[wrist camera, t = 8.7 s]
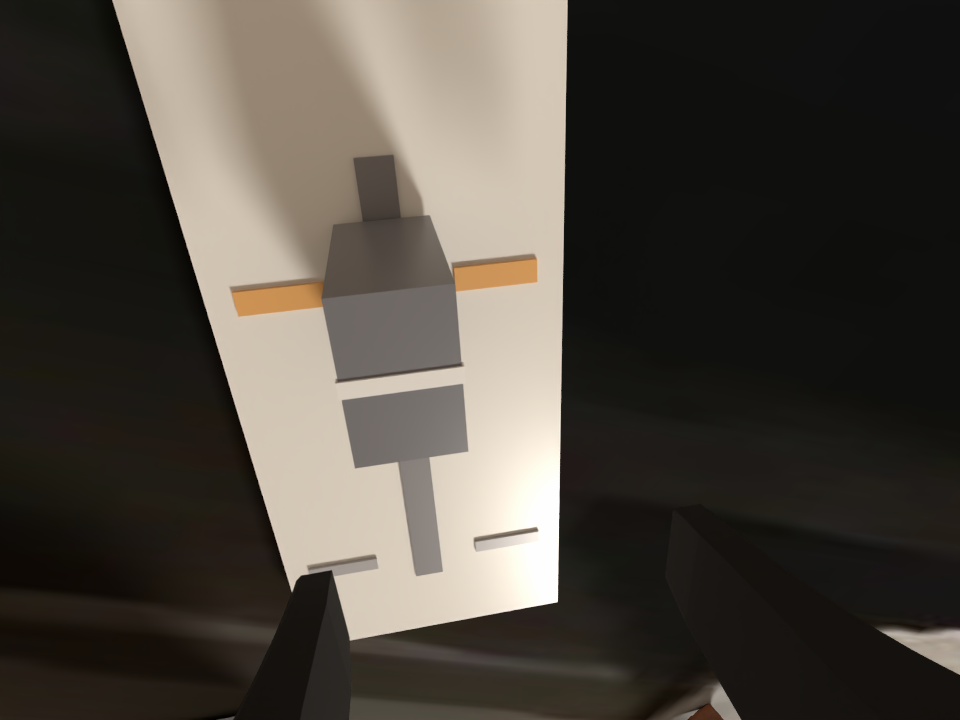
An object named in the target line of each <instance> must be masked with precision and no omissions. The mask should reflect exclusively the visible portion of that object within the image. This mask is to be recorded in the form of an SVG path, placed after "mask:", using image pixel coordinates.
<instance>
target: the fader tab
mask: <svg viewBox="0 0 960 720" xmlns="http://www.w3.org/2000/svg"><path fill="white" fill-rule="evenodd" d="M321 299H322V304H323V310H324V315H325V320H326V325H327V330H328V335H329V340H330V345H331V350H332V355H333V360H334V365H335V370H336V375H337V379H336V380H335V385H336V390H337V395H338V400H342V405H343V411H344V416H345V421H346V426H347V431H348V436H349V441H350V446H351V451H352V456H353V461H354V466H355V468H362V467H369V466H375V465H382V464H389V463H395V462H402V461H409V460H415V459H422V458H429V457H435V456H442V455H449V454H455V453H462V452H468V440H467V427H466V414H465V402H464V389H463V384H465V383H466V380H465V367H464V363H463V362H461V350H460V337H459V324H458V312H457V299H456V286H455V281H454V279H453V276H452V273H451V271H450V268H449V265H448V263H447V260H446V257H445V255H444V252H443V249H442V247H441V244H440V241H439V239H438V236H437V233H436V231H435V228H434V225H433V223H432V220H431V217H430V215H426V216H415V217H405V218H395V219H385V220H375V221H365V222H355V223H344V224H334V225H333V229H332V235H331V241H330V248H329V254H328V260H327V267H326V273H325V279H324V285H323V292H322V298H321Z"/></svg>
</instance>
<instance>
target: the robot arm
mask: <svg viewBox="0 0 960 720" xmlns="http://www.w3.org/2000/svg"><path fill="white" fill-rule="evenodd" d="M665 577H666V579H667V582H668V584H669V586H670V589H671V591H672V594H673V596H674V598H675V601H676V603H677V605H678V608H679V610H680V612H681V614H682V616H683V619H684V621H685V623H686V625H687V626H688V628H689V630H690V632H691V634H692V635H693V637H694V639H695V641H696V642H697V644H698V646H699V648H700V649H701V651H702V653H703V655H704V656H705V658H706V660H707V661H708V663H709V665H710V667H711V668H712V670H713V672H714V673H715V675H716V677H717V679H718V680H719V682H720V684H721V685H722V687H723V689H724V691H725V692H726V694H727V696H728V697H729V699H730V701H731V703H732V704H733V706H734V708H735V709H736V711H737V713H738V715H739V716H740V718H741V720H960V675H959V674H957V673H955V672H953V671H951V670H949V669H947V668H945V667H943V666H941V665H939V664H938V663H936V662H934V661H932V660H930V659H928V658H926V657H924V656H922V655H921V654H919V653H917V652H915V651H913V650H911V649H910V648H908V647H906V646H904V645H903V644H901V643H899V642H898V641H896V640H894V639H892V638H891V637H889V636H887V635H886V634H884V633H882V632H880V631H879V630H877V629H875V628H874V627H872V626H870V625H869V624H867V623H865V622H864V621H862V620H860V619H859V618H857V617H856V616H854V615H852V614H851V613H849V612H848V611H846V610H845V609H843V608H842V607H840V606H839V605H837V604H836V603H834V602H833V601H831V600H830V599H828V598H827V597H825V596H824V595H822V594H821V593H819V592H818V591H816V590H815V589H813V588H812V587H810V586H809V585H807V584H806V583H805V582H803V581H802V580H800V579H799V578H797V577H796V576H795V575H793V574H792V573H791V572H789V571H788V570H786V569H785V568H784V567H782V566H781V565H780V564H778V563H777V562H775V561H774V560H773V559H771V558H770V557H769V556H767V555H766V554H765V553H763V552H762V551H761V550H759V549H758V548H757V547H756V546H754V545H753V544H752V543H750V542H749V541H748V540H746V539H745V538H744V537H742V536H741V535H740V534H739V533H737V532H736V531H735V530H733V529H732V528H731V527H730V526H728V525H727V524H726V523H724V522H723V521H722V520H721V519H719V518H718V517H717V516H715V515H714V514H713V513H712V512H710V511H709V510H708V509H706V508H705V507H704V506H702V505H701V504H697V505H691V506H686V507H680V508H675V509H673V516H672V524H671V532H670V540H669V548H668V556H667V564H666V572H665ZM350 697H351V667H350V637H349V633H348V629H347V625H346V622H345V618H344V614H343V610H342V606H341V603H340V599H339V595H338V591H337V587H336V584H335V580H334V576H333V572H332V570H329V571H324V572H318V573H312V574H307V575H301V576H300V577H299V578H298V579H297V580H296V583H295V586H294V589H293V591H292V594H291V597H290V599H289V602H288V605H287V607H286V610H285V612H284V615H283V617H282V619H281V622H280V624H279V626H278V629H277V631H276V633H275V636H274V638H273V640H272V643H271V645H270V647H269V649H268V651H267V653H266V655H265V657H264V660H263V662H262V664H261V666H260V668H259V670H258V672H257V674H256V676H255V679H254V681H253V683H252V685H251V687H250V689H249V691H248V693H247V694H246V696H245V698H244V700H243V702H242V704H241V706H240V708H239V709H238V711H237V713H236V715H235V716H234V717H229V718H223V719H218V720H349V711H350Z"/></svg>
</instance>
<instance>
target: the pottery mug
mask: <svg viewBox="0 0 960 720" xmlns="http://www.w3.org/2000/svg"><path fill="white" fill-rule="evenodd" d="M688 720H723V719H722V717H721V716H720V715H719V714H718V712H717V711H716V710H715V709H714V708H713V707H712V706H711V705H710V704H707V705H705V706H704V707H703V708H702V709H700V710H698V711H697V712H696V713H695V714H694V715H693V716H691V717H690V718H689V719H688Z"/></svg>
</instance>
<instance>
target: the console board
mask: <svg viewBox="0 0 960 720" xmlns="http://www.w3.org/2000/svg"><path fill="white" fill-rule="evenodd" d="M112 1H113V4H114V7H115V10H116V14H117V17H118V20H119V24H120V27H121V30H122V33H123V37H124V40H125V43H126V47H127V50H128V53H129V57H130V60H131V63H132V66H133V70H134V73H135V76H136V80H137V83H138V86H139V90H140V93H141V96H142V99H143V103H144V106H145V109H146V113H147V116H148V119H149V123H150V126H151V129H152V132H153V136H154V139H155V142H156V146H157V149H158V152H159V155H160V159H161V162H162V165H163V169H164V172H165V175H166V179H167V182H168V185H169V188H170V192H171V195H172V198H173V202H174V205H175V208H176V212H177V215H178V218H179V221H180V225H181V228H182V231H183V235H184V238H185V241H186V244H187V248H188V251H189V254H190V258H191V261H192V264H193V268H194V271H195V274H196V277H197V281H198V284H199V287H200V291H201V294H202V297H203V301H204V304H205V307H206V310H207V314H208V317H209V320H210V324H211V327H212V330H213V333H214V337H215V340H216V343H217V347H218V350H219V353H220V357H221V360H222V363H223V366H224V370H225V373H226V376H227V380H228V383H229V386H230V390H231V393H232V396H233V399H234V403H235V406H236V409H237V413H238V416H239V419H240V422H241V426H242V429H243V432H244V436H245V439H246V442H247V446H248V449H249V452H250V455H251V459H252V462H253V465H254V469H255V472H256V475H257V479H258V482H259V485H260V488H261V492H262V495H263V498H264V502H265V505H266V508H267V512H268V515H269V518H270V521H271V525H272V528H273V531H274V535H275V538H276V541H277V544H278V548H279V551H280V554H281V558H282V561H283V564H284V568H285V571H286V574H287V577H288V581H289V584H290V587H291V591H293V589H294V586H295V583H296V580H297V579H298V578H299V577H300V576H301V575H307V574H312V573H318V572H324V571H329V570H332V572H333V576H334V580H335V584H336V587H337V591H338V595H339V599H340V603H341V606H342V610H343V614H344V618H345V622H346V625H347V629H348V633H349V637H350V640H355V639H360V638H366V637H371V636H376V635H382V634H387V633H393V632H398V631H403V630H409V629H414V628H420V627H425V626H430V625H436V624H441V623H447V622H452V621H457V620H463V619H468V618H474V617H479V616H484V615H490V614H495V613H501V612H506V611H511V610H517V609H522V608H528V607H533V606H538V605H544V604H549V603H555V602H558V542H559V481H560V421H561V360H562V299H563V239H564V178H565V117H566V56H567V0H112ZM426 215H430V217H431V220H432V223H433V225H434V228H435V231H436V233H437V236H438V239H439V241H440V244H441V247H442V249H443V252H444V255H445V257H446V260H447V263H448V265H449V268H450V271H451V273H452V276H453V279H454V281H455V286H456V299H457V312H458V324H459V337H460V350H461V362H463V363H464V367H465V380H466V383H465V384H463V389H464V402H465V414H466V427H467V440H468V452H462V453H455V454H449V455H442V456H435V457H429V458H422V459H415V460H409V461H402V462H395V463H389V464H382V465H375V466H369V467H362V468H355V466H354V461H353V456H352V451H351V446H350V441H349V436H348V431H347V426H346V421H345V416H344V411H343V405H342V400H338V395H337V390H336V385H335V380H336V379H337V375H336V370H335V365H334V360H333V355H332V350H331V345H330V340H329V335H328V330H327V325H326V320H325V315H324V310H323V304H322V299H321V298H322V292H323V285H324V279H325V273H326V267H327V260H328V254H329V248H330V241H331V235H332V229H333V225H334V224H344V223H355V222H365V221H375V220H385V219H395V218H405V217H415V216H426Z"/></svg>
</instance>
